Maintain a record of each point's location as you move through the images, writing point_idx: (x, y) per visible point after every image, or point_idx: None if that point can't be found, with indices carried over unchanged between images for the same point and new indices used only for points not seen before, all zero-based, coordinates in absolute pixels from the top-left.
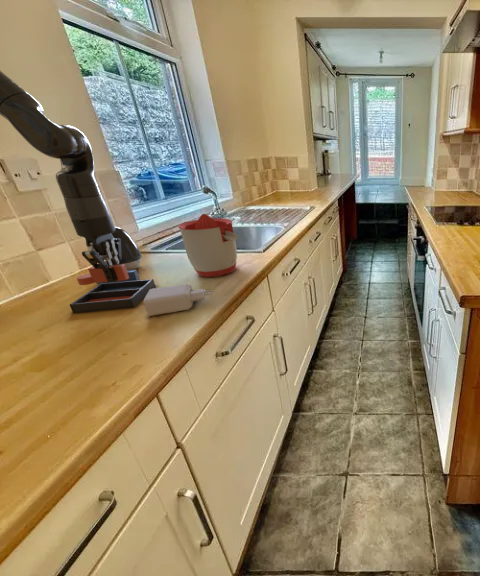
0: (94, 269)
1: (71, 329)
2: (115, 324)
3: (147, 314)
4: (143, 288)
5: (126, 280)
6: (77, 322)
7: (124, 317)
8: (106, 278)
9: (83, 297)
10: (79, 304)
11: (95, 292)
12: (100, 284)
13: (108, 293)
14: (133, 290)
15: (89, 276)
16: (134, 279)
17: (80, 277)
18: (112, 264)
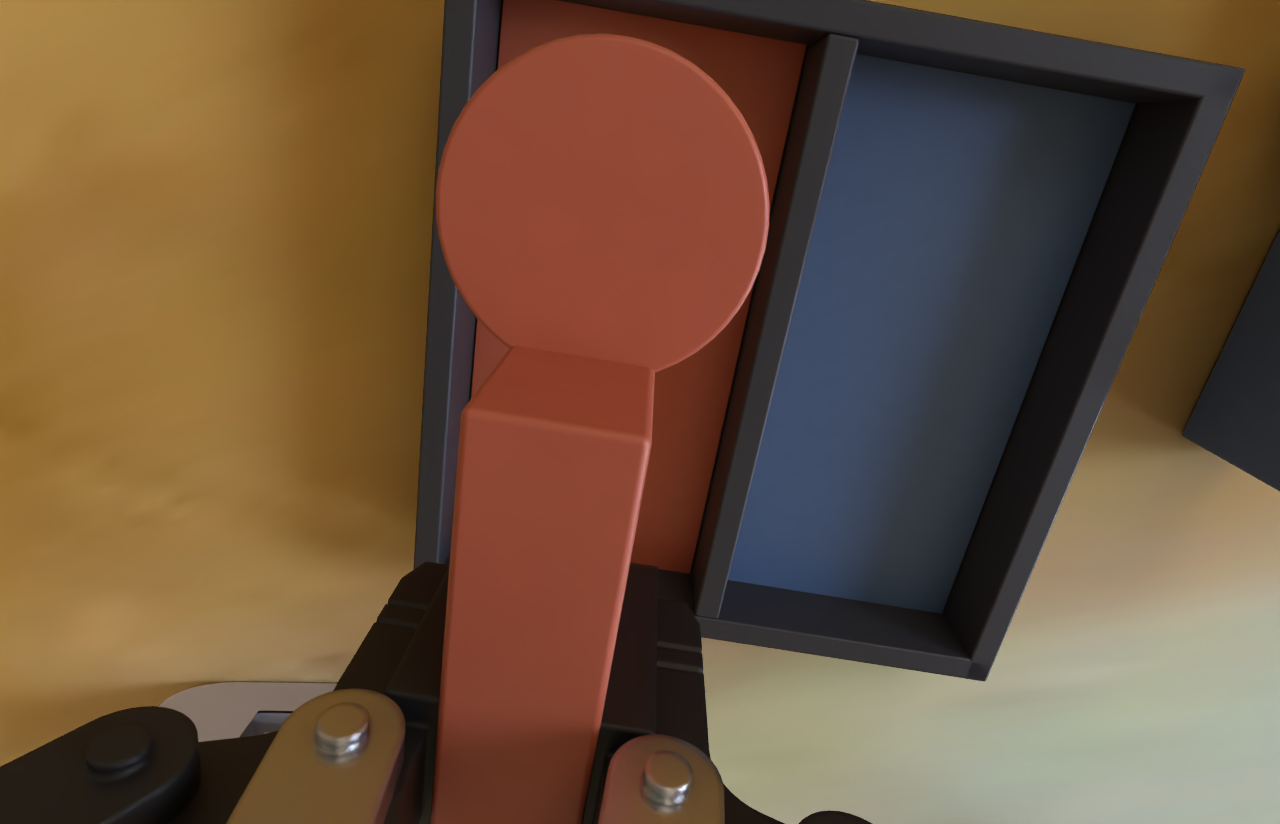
0: (463, 521)
1: (58, 125)
2: (108, 479)
3: (160, 705)
4: (715, 635)
5: (1278, 343)
6: (213, 120)
7: (236, 513)
8: (401, 585)
9: (708, 13)
10: (442, 64)
11: (824, 132)
12: (1184, 87)
13: (767, 289)
14: (708, 549)
15: (537, 307)
16: (1234, 439)
17: (536, 133)
18: (596, 819)
